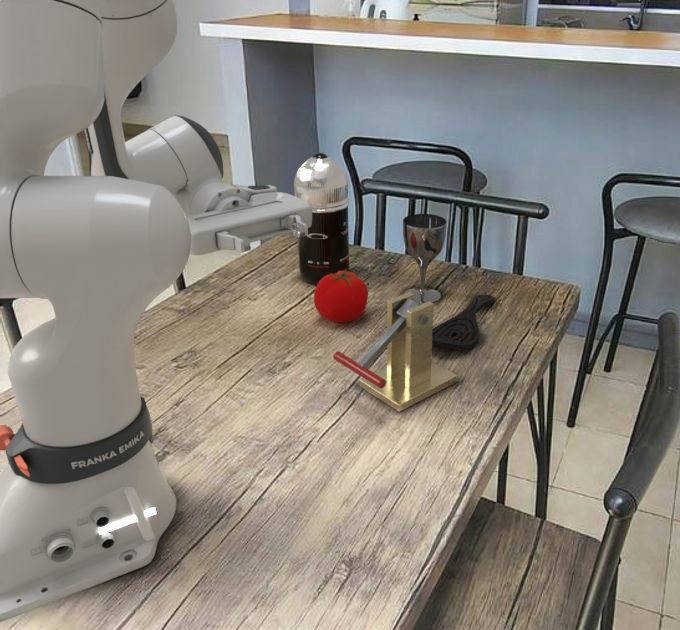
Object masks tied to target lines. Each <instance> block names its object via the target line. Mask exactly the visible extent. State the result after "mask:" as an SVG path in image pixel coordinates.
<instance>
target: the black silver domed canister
mask: <svg viewBox="0 0 680 630" xmlns="http://www.w3.org/2000/svg"><path fill="white" fill-rule="evenodd" d="M293 180H294V181H293V189H294V190H293V191H294V196H295V197H298V198H300V199H302V200H304V201H306V202H308V203H309V204H310V205H311V209H312V225H311V227H309V228H308V235H307V236H303V237H299V238H298V237H297V236H296V237H297V255H298V270H299V271H298V272H299V276H300V277H301V279H303V280H304V281H305V282H306V283H309V284H312V285H317V284H318V283H319V281H320V280H321V279H322V278H323V277H324V276H326V275H329V274H330V273H332V274H335V273H337V272H338V271H345V270H346V271H347V272H350V237H349V236H350V235H349V233H350V232H349V205H350V201H349V185H348V184H349V181H348V177H347V174H346V172H345V171H344V169H343V168H342V167H341V166H340V165H339V164H338V163H337V162H336V161H334V160H333V159H332V158H331V157H330V156H328V155H327V154H325V153H324V152H316V153H314V154H313V155H311V157H309V158H308V159H307V160H306V161H304V163H302V165H300V167H298V170H297V171H296V173H295V176H294V179H293Z"/></svg>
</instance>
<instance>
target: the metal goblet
mask: <svg viewBox="0 0 680 630" xmlns="http://www.w3.org/2000/svg"><path fill="white" fill-rule="evenodd" d="M446 236H447V219H446V218H444V217H443V216H440V215H436V214H432V213H431V214H430V213H414V214H410V215H407V216H405V217H404V218H403V219H402V237H403V244H404V247H405V251H406V252H407V253H408V255H410V257H411V258H412V259H413V261H415V263H416V264H417V266H418V269H419V276H420V286H419V287H418V286H417V287H412V288H409V289H407V290H405V292H404V293H403V294H406V293H409V292H411V293H413V294H414V302H416V303H418V304H419V305H421V304H423V303H426V302H428V301H429V302H432V303H433V304H434V303H436V302H438V301H440V299H441V298H442V295H441V293H440V291H438V290H436V289H434V288H430V287H426V284H425V283H426V274H427V270H428V267H429V265H430V264H431V263H432V262H433V261H434V260H435V259H436V258H437V257H438V256H439V255H440V254H441V252H442V250H443V248H444V244H445V240H446Z"/></svg>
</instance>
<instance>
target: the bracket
mask: <svg viewBox="0 0 680 630" xmlns="http://www.w3.org/2000/svg"><path fill="white" fill-rule="evenodd" d="M408 299H410V300H412V301H414V294H413V293H411V292H409V293H406V294H404V293H403V294H400V295H398V296H396V297H393V298H390V299H388V300H387V301H386V302H387V304H386V307H387V308H386V332H387V331H388V330H389V328H390V327H391V326H392V325H393V324H394V323H395V322H396V321H397V320H398V319H399V317H398V315H397V313H396V312H397V311H398V310H399V308H400V307H401V306H402V305H403V304H404V303H405V302H406V301H407V300H408ZM434 306H435V304H434V302H433V303H432V302H429V301H428V302H426V303H423V304H419V305H418V306H416V307H413V308H411V309H408V310H407V312H406V326H405V327H404V328H403V329H402V330H401V331H400V332H399V334H398V335H397V336H396V337H395V338H394V339H393V340H392V341H391V342H390V343H389V344H388V346H387V347H386V366H385V367H382V368H381V369H379V370H376V371H374V372H373V373H375V374H376V375H378V376H380V377H381V378H383V379H385V380H386V385H385V387H384V388H379V387H377V386H375V385H374V384H372V383H371V382H369V381H368V380H366V379H364V378H363V377H361V378H359V379H358V386H359V387H360V388H361V389H363V390H364V391H366V392H367V393H369V394H370V395H372V396H374V397H376V398H377V399H378V400H380V401H381V402H383V403H385V404H386V405H388V406H389V407H391V408H392V409H394V410H395V411H397V412H399V413H400V412H402V411H404V410H406V409H408V408H409V407H412V406H413V405H416V404H418V403H419V402H422V401H423V400H425V399H427V398H429V397H431V396H433V395H435V394H436V393H438V392H440V391H443V390H444V389H446V388H448V387H450V386H452V385H454V384H456V383H458V379H459V378H458V377H459V376H458V374H456V373H454V372H453V371H451V370H449V369H448V368H445V367H443V366H442V365H440V364H438V363H437V362H435V361H433V360H432V357H433V355H432V354H433V352H432V351H433V344H432V333H433V328H434V327H433V326H434Z"/></svg>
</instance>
